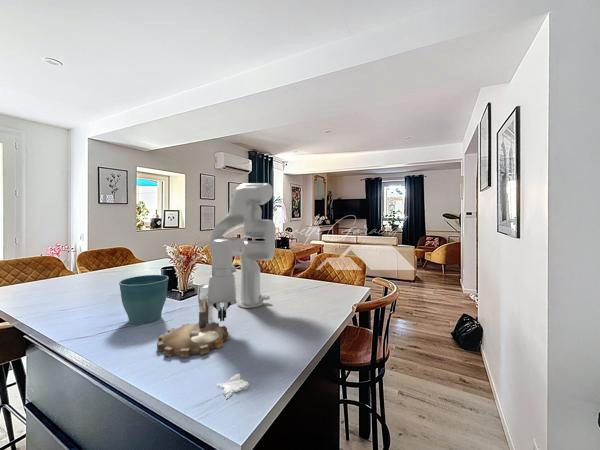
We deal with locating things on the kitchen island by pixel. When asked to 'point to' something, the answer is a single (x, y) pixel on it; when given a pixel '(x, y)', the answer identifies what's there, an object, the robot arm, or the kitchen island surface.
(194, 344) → the sprocket wheel
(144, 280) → the flower pot
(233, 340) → the kitchen island surface
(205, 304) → the beer glass
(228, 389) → the acanthus leaf ornament
